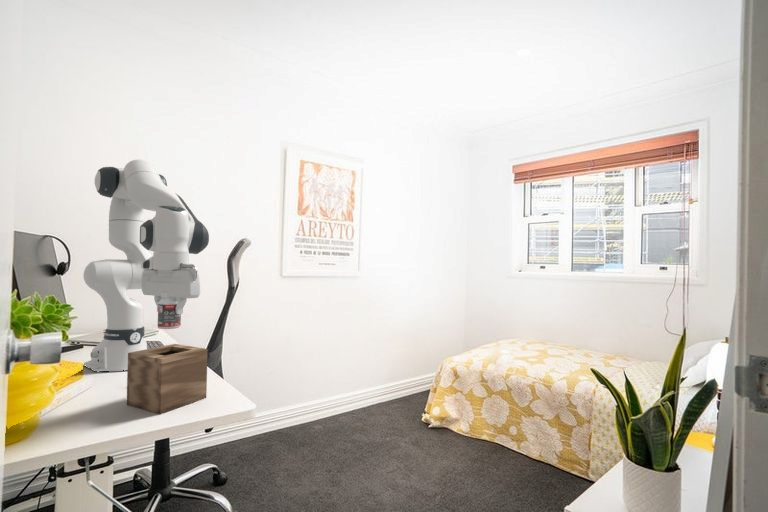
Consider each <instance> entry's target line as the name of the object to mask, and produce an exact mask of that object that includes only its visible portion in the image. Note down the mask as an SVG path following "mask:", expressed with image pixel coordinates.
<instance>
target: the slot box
mask: <svg viewBox="0 0 768 512" xmlns="http://www.w3.org/2000/svg"><path fill="white" fill-rule="evenodd" d="M208 351H209V350H208V348H203V347H197V346H191V345H185V344H178V343H172V344H166V345H163V346H156V347H152V348H147V349H145V350H140V351H135V352H130V353H128V370H126V371H127V373H126V374H127V377H126V379H127V380H126V406H129V407H132V408H136V409H140V410H144V411H147V412H151V413H154V414H158V415H162V414H165V413H168V412H171V411H173V410H177V409H179V408H183V407H185V406H188V405H191V404H194V403H196V402H199V401H202V400H205V399H207V393H208V392H207V391H208V390H207V385H208V384H207V383H208ZM204 398H205V399H204Z"/></svg>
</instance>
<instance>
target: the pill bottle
mask: <svg viewBox="0 0 768 512" xmlns="http://www.w3.org/2000/svg"><path fill="white" fill-rule="evenodd" d="M161 297H162V299H161V300H160V301H159V303H158V312H157V329H160V330H173V329H179V328H180V327H181V326H182V325H181V324H182V323H181V322H182V321H181V320H182V314H174V308H175V307H176V306H177V303H178V302H177V301H176V297H169V296H168V293H163V292H161Z"/></svg>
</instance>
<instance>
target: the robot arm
mask: <svg viewBox="0 0 768 512" xmlns="http://www.w3.org/2000/svg"><path fill="white" fill-rule="evenodd" d="M94 186H95V189H96V192H97V193H98V194H99V195H100V196H102V197H105V198H106V197H107V198H110V199H111V202H110V205H109V211H108V212H109V213H108V242H109V243H110V245H111V246H112V247H114V248H115V249H117V250H120V251H122V252H123V253H124V254H125V256H126V259H110V258H109V259H101V260H100V259H99V260H94V261H91V262H89V263H88V264H87V265H86V267H85V268H84V271H83V274H82V275H83V280H84V283H85V284H86V286H87V287H88V288H90V289H91V290H93V291H94V292H95V293H97V294H98V295H99V296H100V297H101V299H102V300H103V301H104V305H105V307H106V308H105V309H106V316H107V321H106V322H107V328H105V329H103V337H102V338H103V340H101V341H100V342H99V343H98V344H97V345H96V346H94V347H93V348H92V350H91V351H90V354H89V355H90V360H88V361H84V362H83V363H84V365H86V366H87V367H89V368H91V369H93V370H95V371H97V372H96V373H100V372H99V371H109V372H123V370H124V372H125V371H128V353H130V352H135V351H140V350H145V349H148V343H147V340H146V339H145V338H144V337H145V333H146V330H145V326H144V313H145V312H144V310H145V308H144V306H143V305H142V303H141V302H139V301H138V300H135V299H133V298H130V297H129V296H128V294H127V290H141V292H142V294H143V295H144V296H153V297H154V299H153V300H154V302H155V303H154V304H155V305H156V312H157V313H158V303H159V301H160V300H161V299H162V297H161V292H163V293H168V296H169V297H176V301H177V302H178V303H177V306H176V307H175V308H174V314H181V315H183V313H184V307H185V305H186V303H187V301H188V299H198V298H199V296H200V295H201V281H200V274H199V273H198V272H199V271H198V267H196V266H195V264H193V263H189V262H190V261H189V260H190V254H191V255H198V254H200V253H201V252H203V251H204V250H205V249H206V248H207V247H208V245H209V242H210V234H209V231H208V229H207V227H206V226H205V225H204V224H203V223H202V221H200V220H199V219H197V217H196V215H195V214H194V213H193V211H192V210H191V209H190V207H189V205H187V203H186V202H185V200H184V199H183V198H182V197H181V196H180V195H179V194H177V193H175V192H174V191H173V190H171V188H170V187H168V183H167V180H166V177H165V176H164V175H163V174H160V173H159V172H158V171H157V170H156V168H155V167H154V166H153V165H152V164H151V163H150V162H148V161H146V160H143V159H133V160H131V161H129V162H127V163H126V164H125V166H124V168H123V167H114V166H103V167H100V169H98V170H97V172H96V174H95V176H94ZM144 210H146V211H151V212H155V216H154V217H153V218H151V219H148V220H146V221H145V213H144ZM150 252H153V255H152V253H150Z"/></svg>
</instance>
